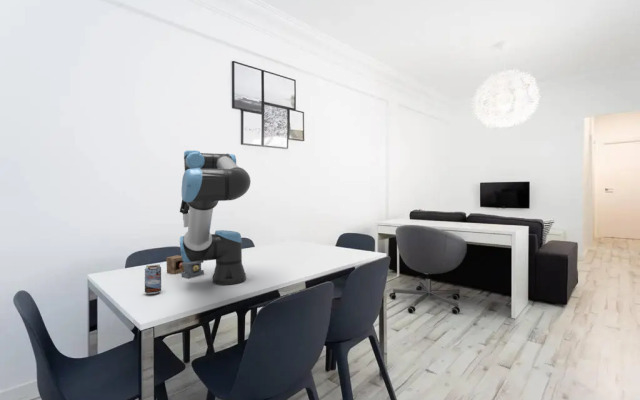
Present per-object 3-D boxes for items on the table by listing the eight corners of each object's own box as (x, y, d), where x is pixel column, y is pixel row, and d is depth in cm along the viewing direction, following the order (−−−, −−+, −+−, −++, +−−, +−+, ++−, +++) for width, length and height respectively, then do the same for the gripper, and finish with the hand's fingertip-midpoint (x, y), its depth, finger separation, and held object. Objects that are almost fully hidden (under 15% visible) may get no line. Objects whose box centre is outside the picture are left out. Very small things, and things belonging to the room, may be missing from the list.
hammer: (199, 270, 163) (199, 251, 163) (193, 272, 160) (193, 252, 160) (184, 268, 170) (183, 249, 169) (178, 269, 167) (177, 250, 166)
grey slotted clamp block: (203, 274, 166) (203, 260, 166) (188, 278, 159) (187, 264, 158) (197, 273, 169) (196, 259, 169) (181, 277, 161) (181, 263, 161)
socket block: (185, 271, 172) (184, 256, 172) (174, 274, 166) (173, 258, 166) (178, 270, 175) (177, 255, 175) (166, 273, 170) (166, 257, 169)
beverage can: (144, 297, 132) (143, 267, 132) (145, 291, 139) (144, 263, 139) (161, 294, 135) (160, 265, 134) (162, 289, 142) (161, 261, 141)
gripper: (216, 182, 158) (217, 227, 158) (184, 183, 170) (185, 225, 171) (203, 182, 151) (204, 229, 152) (171, 183, 164) (172, 227, 164)
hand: (194, 227), depth 161 cm, fingers open, 11 cm apart
